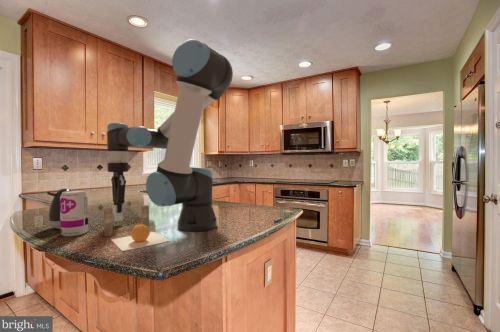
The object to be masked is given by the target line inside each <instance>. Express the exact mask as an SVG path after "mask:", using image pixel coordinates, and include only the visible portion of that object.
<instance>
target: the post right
mask: <svg viewBox="0 0 500 332" xmlns="http://www.w3.org/2000/svg"><path fill="white" fill-rule="evenodd" d="M141 224H143V225H146V226H147V227H148V228H149V229H150V204H142V205H141Z"/></svg>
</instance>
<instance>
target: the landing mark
mask: <svg viewBox="0 0 500 332" xmlns="http://www.w3.org/2000/svg"><path fill="white" fill-rule="evenodd" d="M110 241H111V243H113V244H114V245H115V246H116V247H117V248H118V249H119V250H120V251H121V252H127V251H132V250H135V249H136V250H137V249H140V248H141V249H142V248H145V247H149V246H150V247H151V246H155V245H160V244H164V243H169V242H170V240H169V239H167V238H165V237H163V236H162V235H160V234H158V233H157V232H155V231H150V234H149V237H148V238H147V239H146V240H145V241H142V242H136V241H134V240H133V239H132V237H131V235H128V236H124V237H123V236H122V237H118V238H112V239H110Z"/></svg>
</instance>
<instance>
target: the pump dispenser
mask: <svg viewBox="0 0 500 332" xmlns="http://www.w3.org/2000/svg"><path fill="white" fill-rule="evenodd" d="M66 191H72V190H71V189H69V188H62V189H58V191H57V192H53V191H47V192H46V194H47V195H48V196H52V197H53V198H52V200H51V203H50V206H49V209H48V214H47V221H48V222H49V224H50V226H51V227H52V228H54V229H56V230H60V196H61V194H62V192H66Z"/></svg>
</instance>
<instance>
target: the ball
mask: <svg viewBox="0 0 500 332" xmlns="http://www.w3.org/2000/svg"><path fill="white" fill-rule="evenodd" d="M150 232H151V231H150V227H149V228H148V227H147V226H146V225H143V224H142V223H140V224H136V225H135V226H134V227H133V228H132V230H131V231H130V236H131V237H132V239H133V240H134V241H136V242H142V241H145V240H146V239H147V238H148V237H149V234H150Z"/></svg>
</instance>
